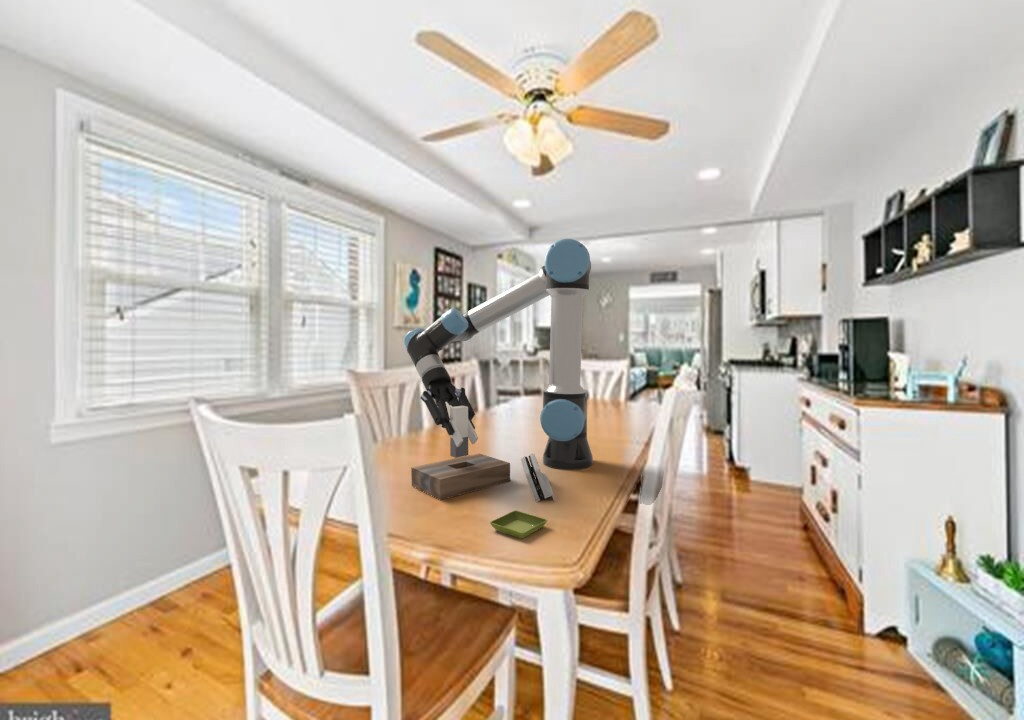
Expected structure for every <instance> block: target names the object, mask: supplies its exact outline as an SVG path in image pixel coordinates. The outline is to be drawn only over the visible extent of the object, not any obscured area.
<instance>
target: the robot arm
mask: <svg viewBox="0 0 1024 720" xmlns="http://www.w3.org/2000/svg"><path fill="white" fill-rule="evenodd" d="M543 260H544V264H543V265H542V266H541V267H540V268H539V272H537V273H535V274H533V275H532V276H529V277H528V278H525V279H524V280H522V281H521V282H519V283H517V284H516V285H513V286H512V287H509V288H508V289H506V290H504V291H502V292H500V293H498V294H497V295H495V296H493V297H491V298H490V299H488V300H486V301H484V302H482V303H480V304H478V305H477V306H475V307H473V308H471V309H470V310H468V311H466V312H464V313H462V312H461V311H460V310H458V309H457V308H454V307H452V308H450V309H448V310H447V311H446V312H444V313H442V314H441V316H440V317H438V318H437V319H436V320H435V321H434V322H433V323H431V324H430V325H429V326H428V327H427V328H426V329H424V328H421V327H420V328H419V327H418V328H414V329H413V330H409V331H408V332H407V333H406V335H405V336H404V341H403V342H404V345H405V348H406V352H407V354H408V355H409V357H410V359H411V361H412V363H413V365H414V366H415V370H416V371H417V373H418V376H419V378H420V379H421V382H422V384H423V387H424V388H425V390H424V391H423V392H422V393H421V396H420V400H421V401H422V402H423V403H424V404H425V406H426V407H427V409H428V412H429V413H430V415H431V417H432V419H433V421H434V423H435V425H436V426H440V425H441V428H443V429H445V430H446V432H447V434H448V436H450V435H451V436H452V438H453V440H454V442H455V444H456V446H457V447H459V446H460V445H461V443H462V442H463V439H462V437H461V435H460V433H459V431H458V429H457V427H456V425H455V423H454V421H453V420H451V421H450V412H449V409H448V407H447V404H448V405H449V406H450V407H456V406H467V407H468V441H470V443H471V445H474V444H476V442H477V440H479V436H478V434H477V432H476V431H475V429H476V426H475V425H474V422H473V421H472V420H473V418H474V417H475V415H476V413H475V411H474V409H473V406H472V404H471V402H470V401H469V399H468V397H467V394H466V388H464V387H461V388H457V387H456V385H454V384H453V383H452V378H451V376H450V373H448V371H447V369H446V366H445V364H444V363H443V360H442V359H441V357H440V355H439V352H441V351H442V350H443V349H444V348H445V347H447V346H448V345H449V344H450V343H452V342H467V341H469V340H471V339H473V337H474V336H475V335H478V334H479V333H480V332H483V331H484V330H486V329H489V328H490V327H492V326H494V325H496V324H498V323H500V322H501V321H503V320H506V319H507V318H509V317H511V316H513V315H515V314H517V313H519V312H520V311H522V310H524V309H526V308H528V307H530V306H531V305H534V304H536V303H537V302H540V301H541V300H543V299H545V298H548V297H549V296H550V298H551V299H550V301H551V304H550V311H551V312H550V330H549V331H550V339H549V340H550V341H549V372H548V375H549V376H548V385H546V386H545V387H544V389H543V390H542V391H543V394H542V395H543V396H542V410H541V411H540V416H539V417H540V418H539V421H540V426H541V429H542V431H543V432H544V433H545V434H546V435H547V436H548V438H547V443H546V444H545V449H544V451H543V454H542V455H543V456H542V464H544V465H545V466H547V467H550V468H554V469H559V470H560V469H561V470H577V469H580V470H581V469H586V468H589V467H591V466H592V465H593V464H594V461H593V460H594V457H593V454H592V453H593V452H592V450H591V447H590V444H589V440H588V393H587V391H586V389H585V388H583V387H582V385H581V370H582V369H581V367H582V340H583V339H582V338H583V311H584V309H583V306H584V304H583V302H584V297H585V296H586V295H587V294H588V293H589V291H590V273H591V268H592V262H591V257H590V252H589V250H588V248H587V247H586V246H585V244H583V243H582V242H580V241H579V240H577V239H573V238H562V239H559V240H557V241H555V242H554V243H553V244H551V245H550V246H549V247H548V249H547V251H546V252H545V257H544V259H543Z"/></svg>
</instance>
